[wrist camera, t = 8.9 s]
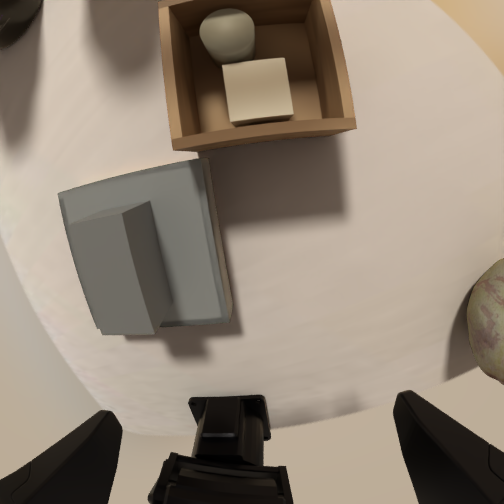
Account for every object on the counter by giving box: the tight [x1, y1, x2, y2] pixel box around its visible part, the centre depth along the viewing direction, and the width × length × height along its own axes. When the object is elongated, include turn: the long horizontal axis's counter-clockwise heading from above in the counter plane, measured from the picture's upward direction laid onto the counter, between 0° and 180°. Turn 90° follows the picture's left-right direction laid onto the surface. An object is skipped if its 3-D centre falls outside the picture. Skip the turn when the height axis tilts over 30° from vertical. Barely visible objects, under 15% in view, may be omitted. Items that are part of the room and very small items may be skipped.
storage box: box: [158, 0, 357, 152], centre depth 13 cm, size 8×8×5 cm
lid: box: [58, 158, 233, 335], centre depth 15 cm, size 9×9×6 cm
